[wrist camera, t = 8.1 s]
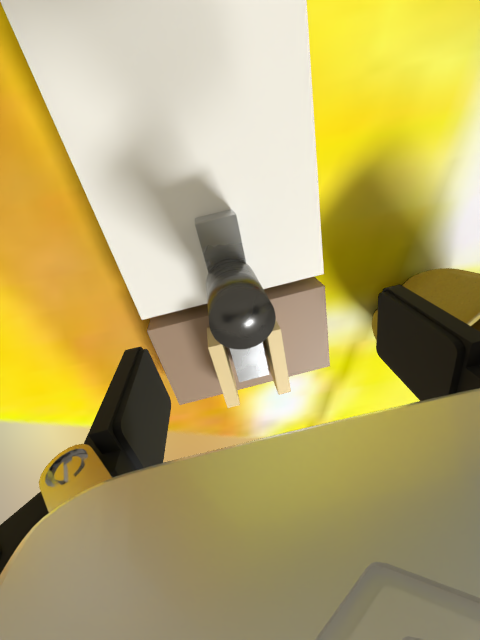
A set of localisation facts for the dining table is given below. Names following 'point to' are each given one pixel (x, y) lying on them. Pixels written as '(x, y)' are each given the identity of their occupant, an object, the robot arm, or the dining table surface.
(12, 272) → the dining table surface
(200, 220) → the bolt
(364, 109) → the dining table surface
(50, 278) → the dining table surface
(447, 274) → the flower pot
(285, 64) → the slide latch panel
